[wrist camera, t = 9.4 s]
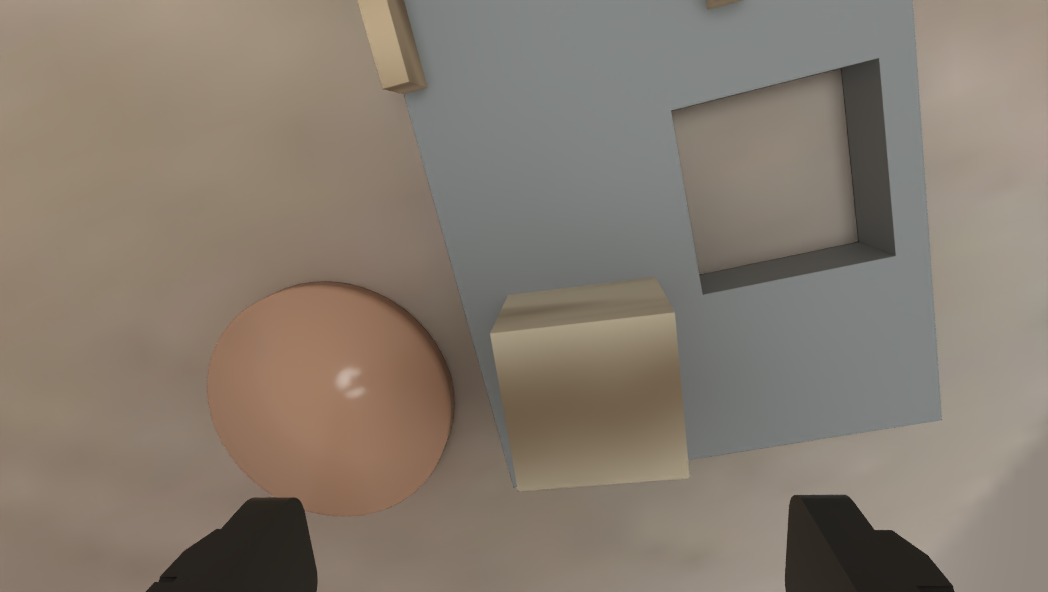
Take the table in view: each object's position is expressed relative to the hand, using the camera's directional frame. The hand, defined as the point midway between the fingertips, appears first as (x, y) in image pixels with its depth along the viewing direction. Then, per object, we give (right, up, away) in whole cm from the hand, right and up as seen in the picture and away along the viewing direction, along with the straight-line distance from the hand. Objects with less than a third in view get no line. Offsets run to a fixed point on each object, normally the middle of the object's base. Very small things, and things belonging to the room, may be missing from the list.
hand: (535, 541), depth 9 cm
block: (+2, +2, +10) cm, 11 cm away
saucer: (-8, 0, +15) cm, 17 cm away
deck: (+4, +11, +10) cm, 15 cm away
